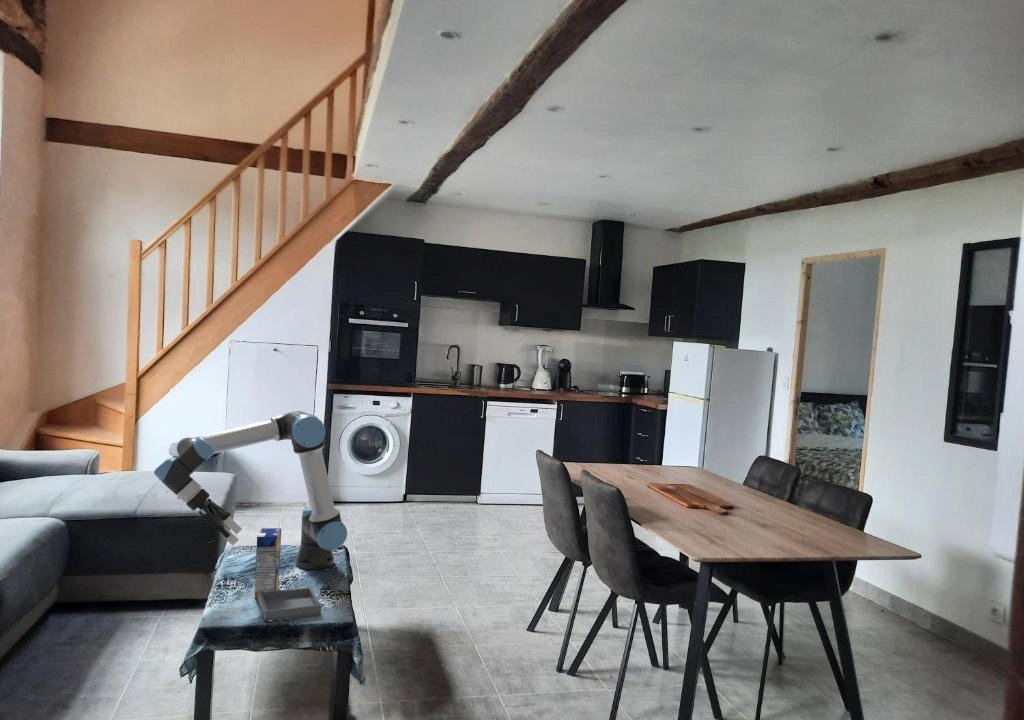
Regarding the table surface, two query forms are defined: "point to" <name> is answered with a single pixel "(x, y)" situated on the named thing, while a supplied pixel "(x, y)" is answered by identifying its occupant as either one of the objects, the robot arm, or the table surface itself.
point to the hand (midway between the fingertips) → (237, 536)
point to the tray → (289, 603)
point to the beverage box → (267, 560)
